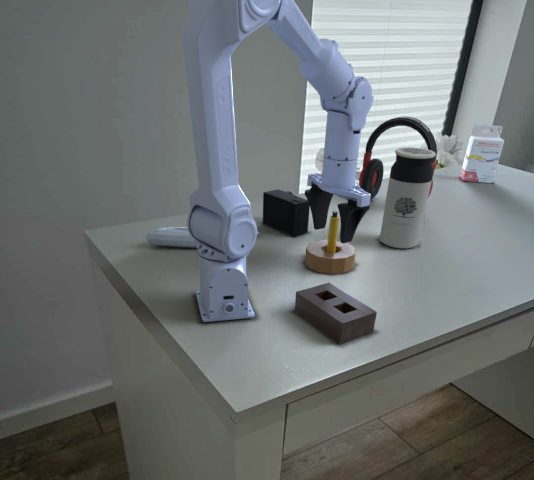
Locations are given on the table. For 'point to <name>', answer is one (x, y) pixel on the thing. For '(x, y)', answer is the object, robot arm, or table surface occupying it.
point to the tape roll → (330, 257)
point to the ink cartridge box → (482, 154)
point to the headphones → (374, 168)
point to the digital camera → (286, 212)
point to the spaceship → (172, 237)
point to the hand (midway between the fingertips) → (332, 235)
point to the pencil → (333, 232)
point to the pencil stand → (335, 312)
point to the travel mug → (407, 197)
